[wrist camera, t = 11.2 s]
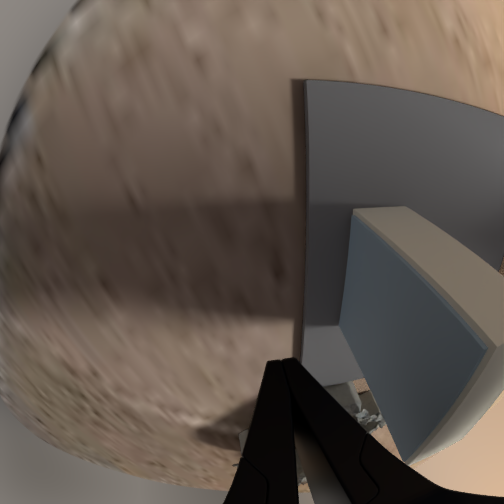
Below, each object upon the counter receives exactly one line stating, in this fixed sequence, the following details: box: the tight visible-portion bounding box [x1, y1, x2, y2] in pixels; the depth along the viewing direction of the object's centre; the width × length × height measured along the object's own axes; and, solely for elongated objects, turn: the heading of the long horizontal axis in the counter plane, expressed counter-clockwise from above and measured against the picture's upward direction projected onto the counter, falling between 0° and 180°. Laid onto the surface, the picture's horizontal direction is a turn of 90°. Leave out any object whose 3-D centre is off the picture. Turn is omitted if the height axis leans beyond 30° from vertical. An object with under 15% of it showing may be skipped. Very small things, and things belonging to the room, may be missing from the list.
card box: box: [339, 206, 504, 466], centre depth 9 cm, size 3×6×8 cm, turn 3°
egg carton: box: [232, 381, 386, 486], centre depth 17 cm, size 11×8×4 cm
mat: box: [300, 80, 504, 387], centre depth 13 cm, size 14×16×1 cm
